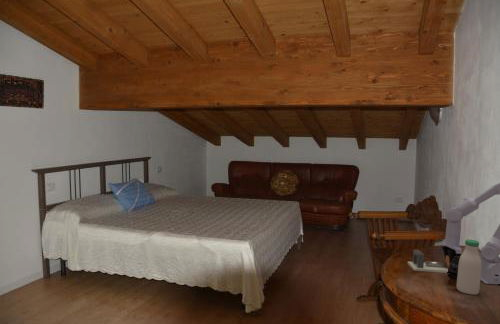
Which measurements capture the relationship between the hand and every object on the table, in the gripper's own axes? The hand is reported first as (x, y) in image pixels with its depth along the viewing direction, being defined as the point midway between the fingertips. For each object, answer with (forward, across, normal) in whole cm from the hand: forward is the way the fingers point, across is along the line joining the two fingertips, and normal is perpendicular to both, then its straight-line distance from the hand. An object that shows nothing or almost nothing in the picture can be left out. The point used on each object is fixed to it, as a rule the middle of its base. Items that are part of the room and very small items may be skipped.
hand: (450, 264), depth 171 cm
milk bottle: (+3, +23, -3) cm, 23 cm away
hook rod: (+1, 0, -4) cm, 5 cm away
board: (+2, 0, -8) cm, 8 cm away
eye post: (+2, 0, -14) cm, 14 cm away
